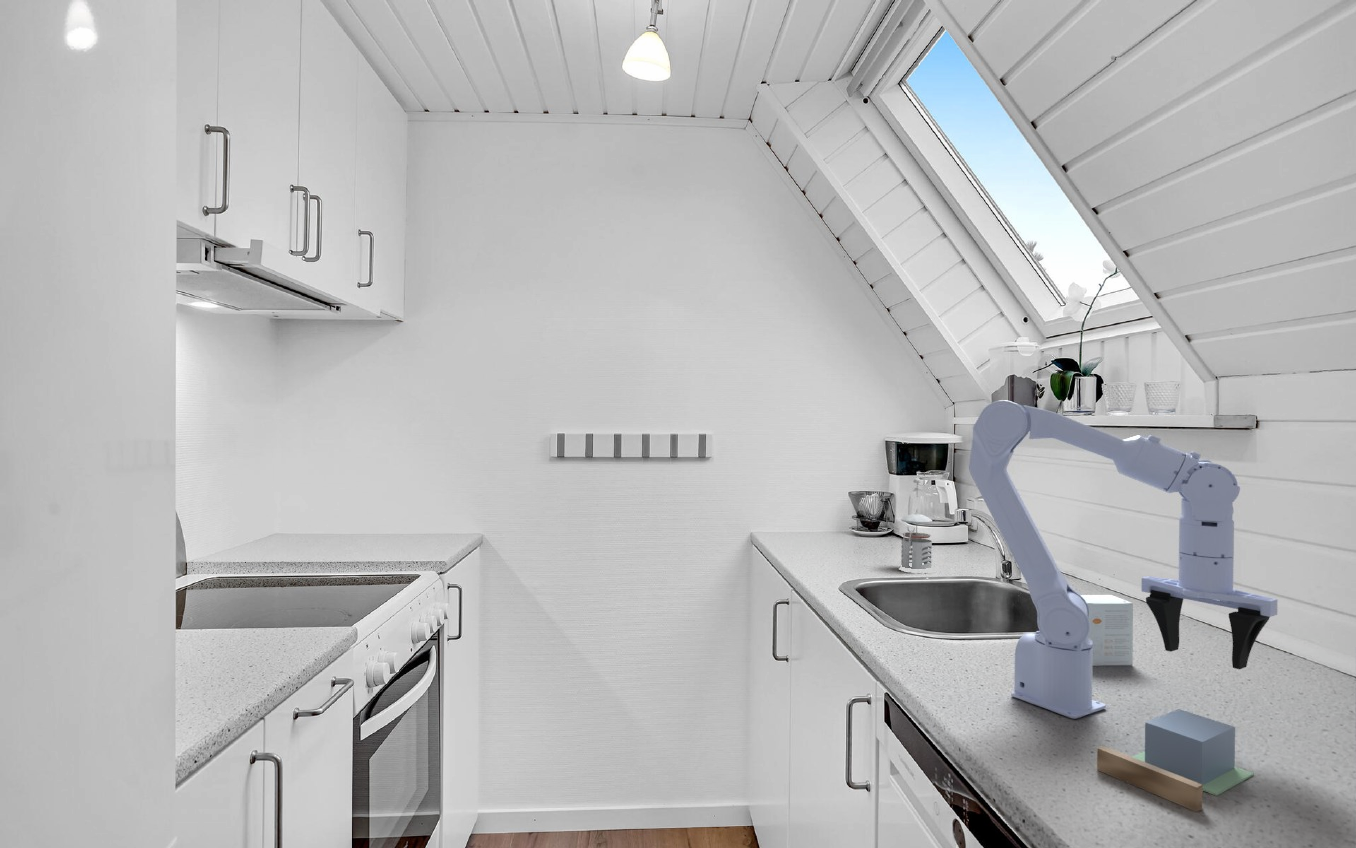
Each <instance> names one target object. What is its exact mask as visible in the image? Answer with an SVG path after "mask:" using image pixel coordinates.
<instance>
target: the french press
mask: <svg viewBox="0 0 1356 848" xmlns="http://www.w3.org/2000/svg"><path fill="white" fill-rule="evenodd" d="M913 483H914V484H915V483H916V496H918V493H919V492H918V489H919V488H918V483H919V484H920V483H922V481H921V479H920V478H919V477H917V478H914V479H913ZM900 520H901V522H903V523H910V524H916V527H915V526H913V527H912V528H911V529H910V530H909V526H908V525H907V526H906V527H905V529H904V532H903V533H902V535H903V538H901V552H900V553H901V562H900V563H901V565H902V567H905V568H911V569H926V568H932V561H933V560H932V553H933V552H932V548H933V547H932V544H933V541H932V540H930V539H928V538H931V534H928V533H925V532H923V533H922V532H918V524H930V523H932V522H933V520H932V519H931V518H930V517H928V516H925V515H924V514H920V513H918V510H916V512H915V513H911V514H908V515H905V516H903V517H902V518H901V519H900ZM915 528H916V530H915ZM907 531H908V532H907ZM915 531H916V532H915ZM910 556H911V557H910ZM909 563H912V567H910V566H909ZM922 563H924V565H922ZM901 565H900V566H901Z"/></svg>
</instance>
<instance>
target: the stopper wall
mask: <svg viewBox="0 0 1356 848" xmlns="http://www.w3.org/2000/svg"><path fill="white" fill-rule="evenodd" d="M1096 750H1097V755H1096V756H1097V758H1096V759H1097V761H1096V764H1097V766H1096V770H1097V771H1099V772H1102V773H1104V774H1106V775H1109V776H1111V777H1113V778H1115V779H1118V780H1119V781H1122V782H1125V783H1127V784H1130V785H1132V786H1134V787H1137V788H1139V789H1142V790H1143V791H1146V792H1149V793H1151V794H1154V795H1155V796H1159V797H1160V798H1163V799H1164V800H1167V801H1170V802H1172V803H1175V804H1177V805H1179V806H1182V807H1184V808H1187V809H1189V810H1191V811H1193V812H1196V813H1198V812H1199V811H1202V810H1203V785H1202V784H1200V783H1197V782H1194V781H1192V780H1189V779H1187V778H1184V777H1182V776H1179V775H1177V774H1174V773H1171V772H1169V771H1166V770H1164V769H1161V768H1159V767H1156V766H1154V765H1151V764H1148V763H1146V762H1143V761H1141V760H1138V759H1136V758H1133V756H1130V755H1127V754H1125V753H1122V752H1120V751H1118V750H1116V749H1112V748H1110V747H1107V746H1105V745H1101V746H1099V747H1097V749H1096Z"/></svg>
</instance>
